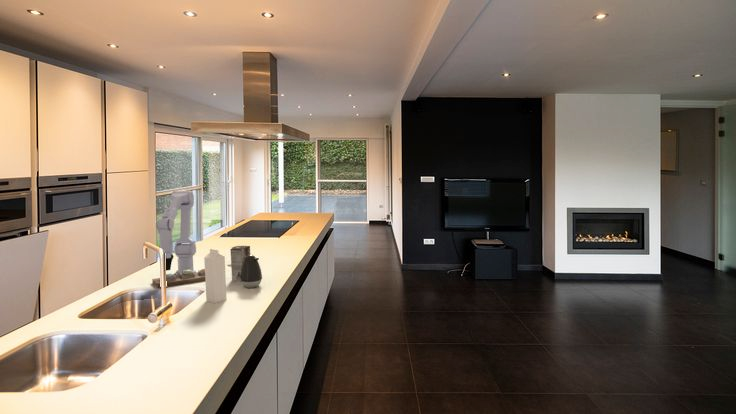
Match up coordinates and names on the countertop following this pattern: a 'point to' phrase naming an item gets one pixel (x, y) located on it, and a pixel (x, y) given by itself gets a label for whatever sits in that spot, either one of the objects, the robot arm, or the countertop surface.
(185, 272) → the sage button
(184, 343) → the countertop surface
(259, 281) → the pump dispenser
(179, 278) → the button panel
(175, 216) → the robot arm
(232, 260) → the coffee box
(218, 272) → the milk
